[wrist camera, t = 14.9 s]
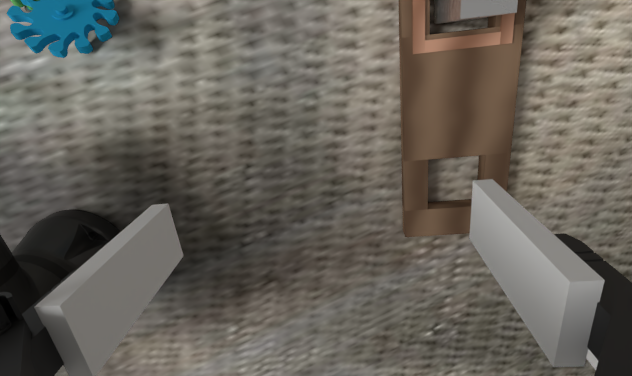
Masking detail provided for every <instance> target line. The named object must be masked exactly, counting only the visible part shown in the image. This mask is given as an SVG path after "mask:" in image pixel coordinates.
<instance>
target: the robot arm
mask: <svg viewBox="0 0 632 376" xmlns="http://www.w3.org/2000/svg"><path fill="white" fill-rule="evenodd" d="M469 239H470V241H471V242H472V244H473V245H474V247H475V248H476V250H477V251H478V253H479V254H480V256H481V258H482V259H483V261H484V262H485V264H486V265H487V267H488V268H489V270H490V271H491V273H492V274H493V276H494V277H495V279H496V280H497V282H498V283H499V285H500V286H501V288H502V290H503V291H504V293H505V294H506V296H507V297H508V299H509V300H510V302H511V303H512V305H513V306H514V308H515V309H516V311H517V312H518V314H519V315H520V317H521V318H522V320H523V322H524V323H525V325H526V326H527V328H528V329H529V331H530V332H531V334H532V335H533V337H534V338H535V340H536V341H537V343H538V344H539V346H540V347H541V349H542V350H543V352H544V354H545V355H546V357H547V358H548V360H549V361H550V363H551V364H552V366H553V367H581V366H584V365H585V361H586V357H587V353H588V349H589V350H590V351H591V352H592V354H593V355H594V356H595V357H596V359H597V360H598V365H597V368H596V372H595V376H632V283H631V282H630V281H629V280H628V279H627V278H625V277H624V276H623V275H622V274H621V273H619V272H618V271H617V270H616V269H615V268H613V267H612V266H611V265H610V264H608V263H607V262H606V261H603V259H602V258H601V257H600V256H599V255H598V254H596V253H594V252H593V250H591V249H590V248H589V247H588V246H587V245H585V244H584V243H583V242H582V241H580V240H578V239H575V238H573V237H571V236H569V235H567V234H553V233H552V232H551V231H550V230H548V229H547V228H546V227H545V226H544V225H543V224H542V223H541V222H540V221H538V220H537V219H536V218H535V217H534V216H533V215H532V214H531V213H530V212H528V211H527V210H526V209H525V208H524V207H523V206H522V205H521V204H520V203H518V202H517V201H516V200H515V199H514V198H513V197H512V196H511V195H510V194H508V193H507V192H506V191H505V190H504V189H503V188H502V187H501V186H500V185H498V184H497V183H496V182H495V181H494V180H493V179H487V180H474V181H473V188H472V204H471V220H470V236H469ZM182 258H183V252H182V249H181V245H180V242H179V238H178V235H177V232H176V228H175V225H174V221H173V218H172V214H171V211H170V208H169V204H156V205H151V206H150V207H149V208H148V209H147V210H145V211H144V212H143V213H142V214H141V215H140V216H139V217H137V218H136V219H135V220H134V221H133V222H132V223H130V224H129V225H128V226H127V227H126V228H125V229H124V230H122V231H121V232H120V231H119V230H118V229H117V228H116V227H114V226H113V225H112V224H110V223H109V222H108V221H106V220H104V219H102V218H100V217H98V216H96V215H94V214H91V213H88V212H84V211H78V210H64V211H59V212H56V213H53V214H51V215H49V216H47V217H46V218H44V219H42V220H41V221H39V222H38V223H36V224H35V225H34V226H33V227H32V228H31V229H30V230H29V231H28V232H27V234H26V236H25V237H24V238H23V239H22V240H21V242H20V243H19V244H18V245H17V247H16V248H15V249H14V251H13V252H12V253H11V251H10V250H9V248H8V246H7V245H6V243H5V242H4V240H3V238H2V237H1V235H0V376H54V375H55V374H56V372H57V371H58V370H59V369H60V368H61V367H62V365H64V367H65V369H66V371H67V373H68V375H69V376H96V375H97V374H98V372H99V371H100V370H101V368H102V367H103V366H104V364H105V363H106V362H107V360H108V359H109V357H110V356H111V355H112V353H113V352H114V351H115V349H116V348H117V346H118V345H119V344H120V342H121V341H122V340H123V338H124V337H125V336H126V334H127V333H128V331H129V330H130V329H131V327H132V326H133V325H134V323H135V322H136V320H137V319H138V318H139V316H140V315H141V314H142V312H143V311H144V310H145V308H146V307H147V305H148V304H149V303H150V301H151V300H152V299H153V297H154V296H155V294H156V293H157V292H158V290H159V289H160V288H161V286H162V285H163V284H164V282H165V281H166V279H167V278H168V277H169V275H170V274H171V273H172V271H173V270H174V268H175V267H176V266H177V264H178V263H179V262H180V260H181V259H182Z"/></svg>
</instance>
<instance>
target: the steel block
mask: <svg viewBox="0 0 632 376" xmlns="http://www.w3.org/2000/svg"><path fill="white" fill-rule="evenodd" d="M517 5H518V0H434V24H439V23H447V22H456V21H464V20H473V19H480V18H486V17H492V16H498V15H504V14H511V13H517Z"/></svg>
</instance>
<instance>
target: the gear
mask: <svg viewBox="0 0 632 376" xmlns="http://www.w3.org/2000/svg"><path fill="white" fill-rule="evenodd" d="M11 2H12V3H13V4H14V5H15V6H12V7H10V9H9V10H8V12H7V15H8V16H9V17H10V18H11V19H12V20H13V21H14V22H29V23H32V25H30V26H24V25H22V24H19V23H14V24H11V26H10V29H11V33H12V34H13V35H14V37H15V38H16V39H18V40H22V39H25V38H26V39H25V40H24V41H25V43H26V44H27V45H28V46H29V48H30V49H31V50H32V51H33V52H35V53H39V52H41V51H42V50H43V49H44V48H45V46H47V45H48V44H50V43H52V42H54V41H57V40H59V41H57V42H54V43H52V44H50V45H49V47H48V49H49V50H50V52H51V53H52V54H53V55H54V56H57V57H62V58H64V57H66V56H67V54H68V52H67V49H68V46H69V44H70V43H71V42H72V41H73V40H75V41H76V42H75V46H76V48H77V49H78V51H79V52H80V53H85V54H88V53H90V52H92V51H93V47H92V46H91V44H90V42H89V41H88V39H87V38H88V33H89V32H90V31H92V30H95V33H96V35H97V37H98V39H99V40H100V41H102V42H104V41H107V40H108V39H110V38H111V37H112V35H111V33H110V31H109V29H108V28H107V27H105V26H102V25H100V24H98V23H97V22H96V21H97V20H98V19H105V20H106V21H107V23H108V24H110V25H116V24H117V23H118V21H119V16H118V14H117V12H116V11H115V10H101V9H98V8H96V7H99V6H102V7H104V8H106V9H113V8H114V7H115V5H114V2H113V0H11ZM23 6H25V10H26V11H27V12H28V13H24V12H23V11H22V10H21V9H20V7H23ZM33 35H41V36H39V37H29V36H33ZM27 37H28V38H27Z"/></svg>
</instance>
